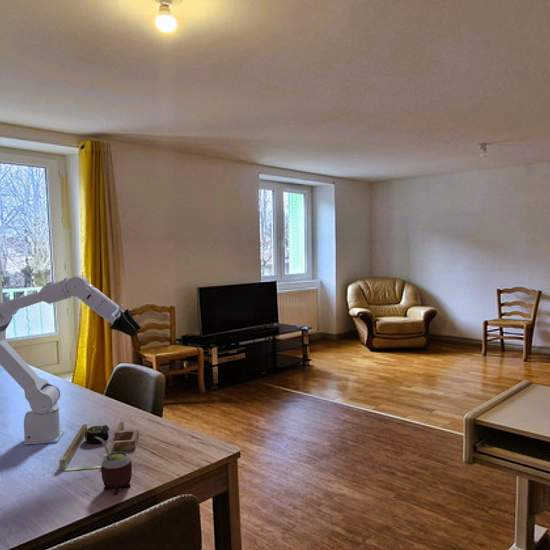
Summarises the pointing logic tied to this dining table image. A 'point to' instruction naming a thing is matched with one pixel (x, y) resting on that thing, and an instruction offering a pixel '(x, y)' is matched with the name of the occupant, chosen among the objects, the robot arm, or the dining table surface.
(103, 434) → the tape measure
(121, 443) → the channel
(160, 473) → the dining table surface
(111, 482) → the mate gourd
